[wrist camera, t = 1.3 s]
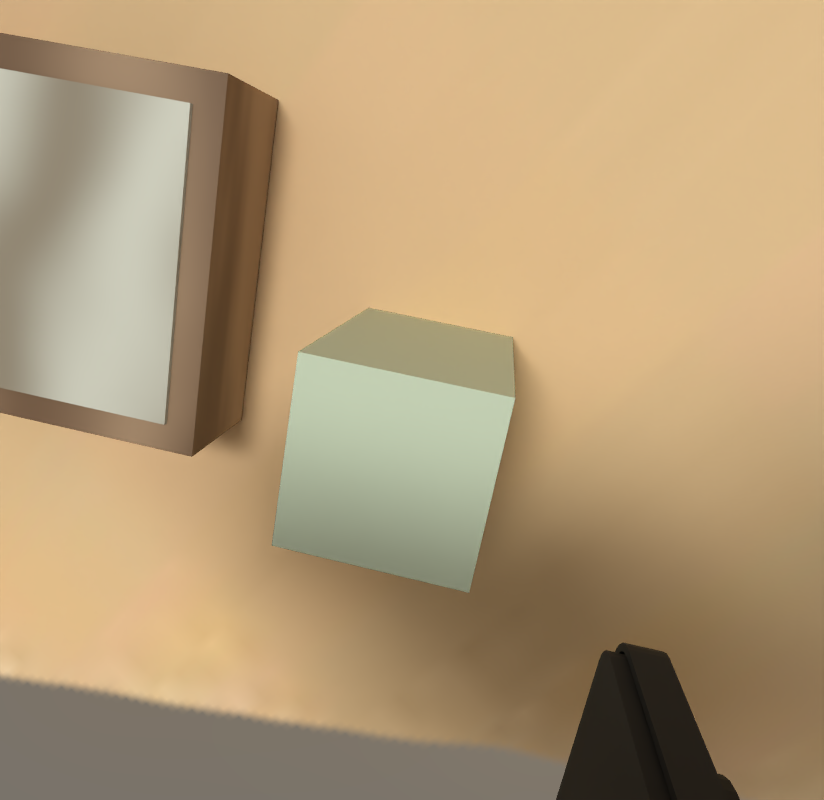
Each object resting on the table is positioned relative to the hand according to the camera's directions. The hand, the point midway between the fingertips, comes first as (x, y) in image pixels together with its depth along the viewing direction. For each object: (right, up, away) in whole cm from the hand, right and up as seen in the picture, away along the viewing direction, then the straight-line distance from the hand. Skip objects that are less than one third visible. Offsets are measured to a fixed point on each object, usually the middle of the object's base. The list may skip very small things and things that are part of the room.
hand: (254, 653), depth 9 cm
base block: (-8, +9, +14) cm, 19 cm away
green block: (+3, +4, +14) cm, 15 cm away
